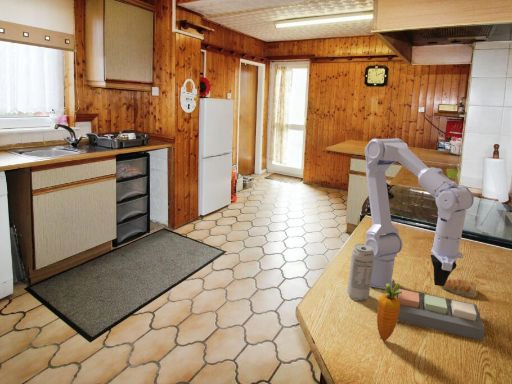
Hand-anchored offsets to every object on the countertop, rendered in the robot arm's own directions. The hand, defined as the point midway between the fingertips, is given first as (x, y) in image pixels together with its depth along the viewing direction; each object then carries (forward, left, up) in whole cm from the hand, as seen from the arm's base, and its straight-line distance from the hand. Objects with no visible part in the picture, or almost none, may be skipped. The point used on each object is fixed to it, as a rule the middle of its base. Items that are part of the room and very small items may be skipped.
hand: (438, 284), depth 94 cm
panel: (0, 0, -9) cm, 9 cm away
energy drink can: (-20, +2, -10) cm, 22 cm away
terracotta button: (-7, 0, -8) cm, 10 cm away
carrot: (-12, -16, -10) cm, 22 cm away
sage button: (0, 0, -8) cm, 8 cm away
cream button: (+6, 0, -8) cm, 10 cm away
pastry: (+9, +18, -10) cm, 23 cm away
